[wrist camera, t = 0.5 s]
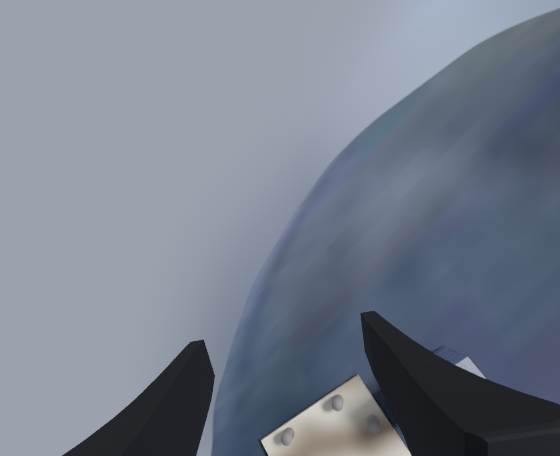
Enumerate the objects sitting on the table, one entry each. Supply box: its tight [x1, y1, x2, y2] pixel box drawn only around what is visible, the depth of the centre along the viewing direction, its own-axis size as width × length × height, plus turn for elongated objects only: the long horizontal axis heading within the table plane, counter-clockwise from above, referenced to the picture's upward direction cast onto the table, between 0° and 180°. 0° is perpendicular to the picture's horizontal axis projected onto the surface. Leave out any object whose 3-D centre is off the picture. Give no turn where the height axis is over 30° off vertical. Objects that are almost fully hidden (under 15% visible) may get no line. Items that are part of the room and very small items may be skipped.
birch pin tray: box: [261, 374, 411, 456], centre depth 30 cm, size 9×14×2 cm, turn 124°
